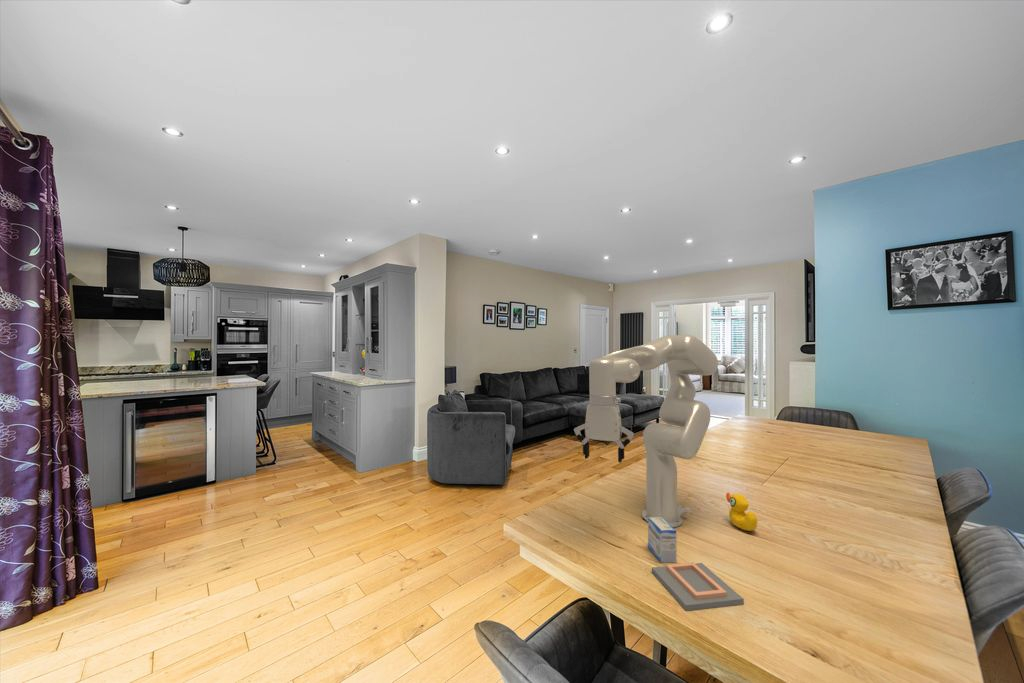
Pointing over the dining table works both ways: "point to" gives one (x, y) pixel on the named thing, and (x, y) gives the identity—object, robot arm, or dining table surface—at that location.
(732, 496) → the duckling
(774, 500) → the dining table surface
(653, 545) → the medicine box
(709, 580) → the base plate
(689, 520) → the dining table surface
